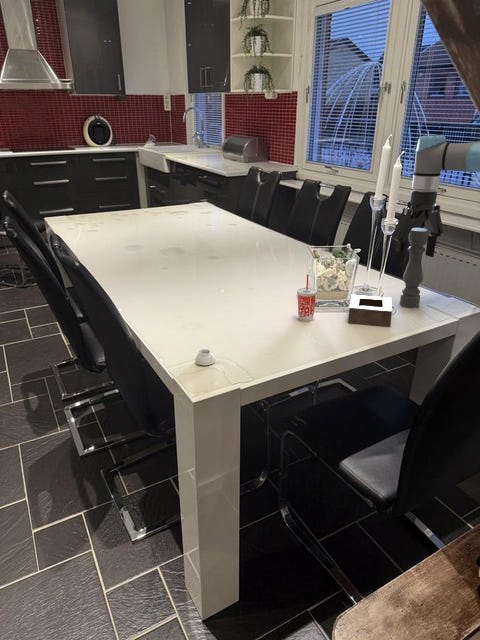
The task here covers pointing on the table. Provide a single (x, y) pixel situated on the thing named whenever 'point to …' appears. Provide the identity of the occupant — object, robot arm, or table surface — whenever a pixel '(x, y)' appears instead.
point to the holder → (370, 310)
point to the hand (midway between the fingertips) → (414, 258)
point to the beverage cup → (306, 302)
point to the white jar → (205, 357)
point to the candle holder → (414, 268)
